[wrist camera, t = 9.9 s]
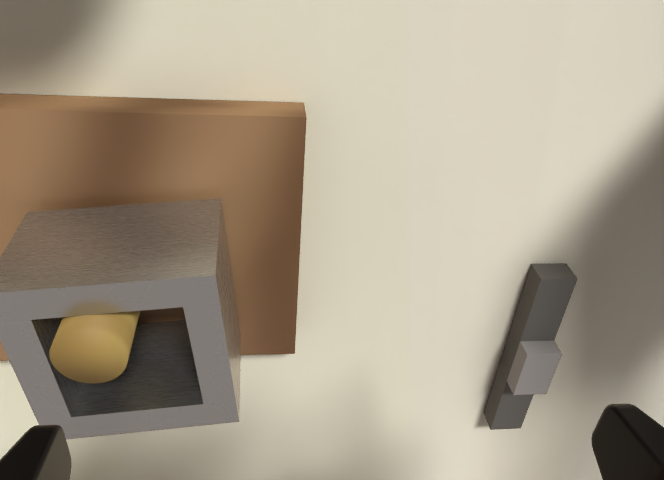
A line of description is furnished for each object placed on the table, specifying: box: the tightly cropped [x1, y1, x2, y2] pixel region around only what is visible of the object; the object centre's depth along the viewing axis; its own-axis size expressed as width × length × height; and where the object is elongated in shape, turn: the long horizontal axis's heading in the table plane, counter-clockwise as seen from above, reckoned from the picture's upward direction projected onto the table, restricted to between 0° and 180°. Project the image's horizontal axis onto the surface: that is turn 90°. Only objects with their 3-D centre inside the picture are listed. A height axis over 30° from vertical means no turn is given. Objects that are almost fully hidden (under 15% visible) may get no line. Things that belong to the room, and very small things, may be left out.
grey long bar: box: [484, 264, 577, 430], centre depth 26 cm, size 2×9×2 cm, turn 176°
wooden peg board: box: [0, 94, 306, 384], centre depth 19 cm, size 12×10×6 cm
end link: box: [0, 198, 241, 439], centre depth 19 cm, size 6×6×4 cm
